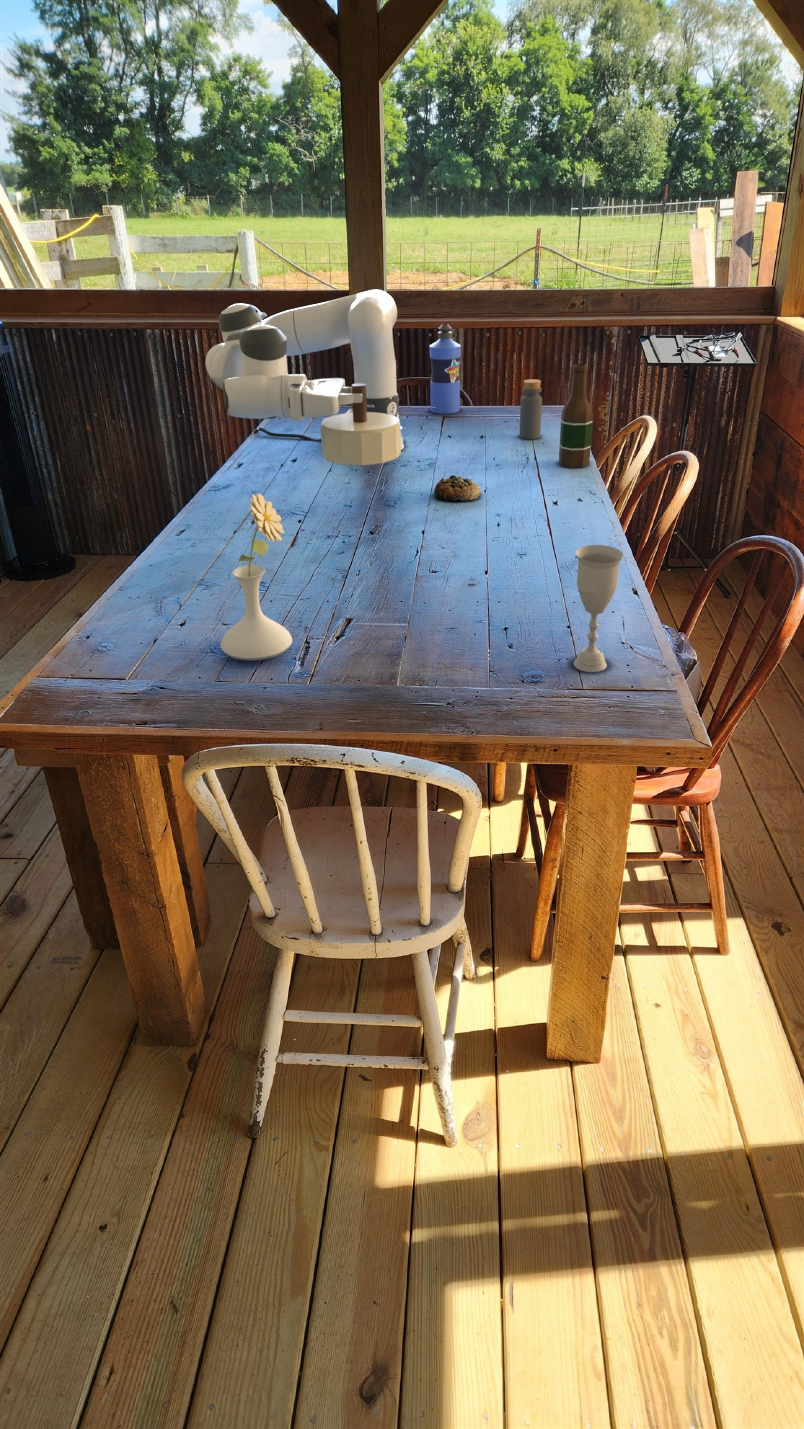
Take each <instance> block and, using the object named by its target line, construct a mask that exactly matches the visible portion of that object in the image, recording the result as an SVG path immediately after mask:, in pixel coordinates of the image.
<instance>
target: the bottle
mask: <svg viewBox="0 0 804 1429" xmlns="http://www.w3.org/2000/svg"><path fill="white" fill-rule="evenodd" d="M541 383H542V381H541V380H540V379H531V378H530V379H524V380H523V387H522V388H521V391H522V392H523V395H522V396H521V397H520V405H519V406H520V407H519V408H520V409H519V435H518V436H519V438H520V439H523V440H537V439H540V438H541V432H542V414H543V413H542V411H543V397H542V396H541V395H540V393H541V392H542V387H541Z"/></svg>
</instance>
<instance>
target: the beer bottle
mask: <svg viewBox="0 0 804 1429" xmlns="http://www.w3.org/2000/svg"><path fill="white" fill-rule="evenodd" d="M572 370H573V371H572V372H573V373H572V381H571V388H570V395H569V399H568V400H567V401H566V403H565V404H564V406H563V409H562V411H561V417H560V434H559V446H558V447H559V448H558V449H559V450H558V462H559V464H560V466H561V467H564V468H569V469H579V468H581V469H582V468H585V467H588V466H589V463H590V458H591V447H592V435H593V432H592V431H593V422H594V421H593V417H594V414H593V409H592V407H591V404H590V402H589V401H588V397H587V396H588V395H587V386H588V385H587V382H588V381H587V377H588V376H587V375H588V374H587V373H588V370H589V366H588V365H587V364H585V363H577V364H573V366H572Z"/></svg>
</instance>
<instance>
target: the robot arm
mask: <svg viewBox="0 0 804 1429" xmlns="http://www.w3.org/2000/svg"><path fill="white" fill-rule="evenodd" d="M266 317H267V318H266ZM264 318H265V319H264ZM397 318H398V307H397V305H396V301H395V300H394V298H393V297H392V296H391V295H390V294H389V293H387V292H386V291H384V290H382V289H369V290H366V291H363V292H358V293H354V294H350V295H347V296H343V297H339V298H336V299H332V300H328V301H325V302H320V303H316V304H310V305H306V306H301V307H296V308H292V309H288V310H285V311H282V312H279V313H276V314H274V315H271V316H269V317H268V315H267V313H265V312H263V311H261V310H260V309H258V307H256V306H254V305H253V304H249V303H234V304H231V305H230V306H228V307H227V308H225V309H224V310H222V311H221V313H220V314H219V316H218V327H219V331H220V332H221V336H222V340H223V342H221V343H217V344H214V345H213V346H212V347H211V348H210V349H209V350H208V352H207V353H206V356H205V363H204V365H205V370H206V372H207V375H208V377H209V378H210V379H211V381H212V382H213V383H214V384H215V385H216V386H217V387H219V389H221V390H222V391H223V392H222V394H223V403H224V410H225V412H226V415H227V416H230V417H233V418H241V419H256V420H273V419H274V420H275V419H278V418H281V419H291V420H292V421H294V422H301V421H303V420H304V419H311V418H323V417H330V416H334V415H338V414H339V411H340V408H341V406H347V405H350V409H348V410H347V411H346V412H345V413H353V405H352V403H361V402H362V401H363V394H362V393H352V386H346V380H345V378H343V377H342V378H341V377H330V378H328V377H327V378H315V379H312V380H308V378H307V375H306V374H305V373H301V374H299V373H298V374H297V373H296V374H293V373H292V374H289V372H288V370H289V369H288V360H287V357H293V356H301V355H306V354H310V353H315V352H320V351H325V350H331V349H335V348H338V347H341V346H344V345H347V344H350V350H351V357H352V363H353V379H354V380H353V381H354V383H353V384H357V383H363V384H366V402H367V412H376V413H384V414H389V415H393V416H395V417H397V418H398V419H399V423H400V424H401V422H400V415H399V407H400V398H399V393H398V392H397V391H398V390H397V362H396V361H397V360H396V355H395V346H394V336H393V327H394V325H395V324H396V322H397ZM258 428H259V430H257V428H255V430H254V431H253V434H258V433H259V432H263V433H265V434H266V435H268V436H271V437H276V438H277V437H279V438H298V439H302V440H306V441H313V442H320V443H322V442H321V438H319V439H316V438H312V437H310V436H306V435H304V434H298V433H297V434H296V433H279V432H272V431H269V430H267V429H265V428H263V427H258ZM402 429H403V426H401V425H400V433H401V451H402V450H403V449H405V444H404V437H403V436H402Z"/></svg>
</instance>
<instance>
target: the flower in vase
mask: <svg viewBox="0 0 804 1429" xmlns="http://www.w3.org/2000/svg"><path fill="white" fill-rule="evenodd" d="M249 507H250V513H251V515H252V517H253V521H254V523H255V524H257V525H256V527H255V530H254V532H253V534H252V539H251V546H250V552H249V556H248V555H245V554H241V555H240V557H239V559H238V560H237V562H248V565H242V566H239V567H236V568H234V569H233V570H232V573H231V574H232V575H233V576H234V578H236V579H237V581H238V583H239V584H240V587H241V590H242V594H243V599H244V606H245V608H244V609H245V610H244V615H243V616H242V618H241V619H239V621H238V622H237V623H235V624H234V625H233V626H232V627H230V628H229V629H228V630H227V631H226V633H225V634H223V636H222V637H221V642H220V648H221V650H222V652H223V653H224V654H225V655H226V656H228V657H230V658H232V659H236V660H240V661H249V662H250V661H251V662H253V661H262V660H269V659H272V658H276V657H277V656H280V655H282V654H284V653H285V652H286V651H288V649H289V648H290V646H291V645H292V643H293V637H292V635H291V633H290V631H289V630H288V629H287V628H286V627H284V626H283V625H282V624H280V623H278V622H277V621H274V620H273V619H271V618H269V617H267V616H266V615H264V613H263V611H262V609H261V604H260V583H261V581H262V577H263V575H264V574H265V572H266V569H265V567H263V566H261V565H255V564H253V565H252V561H253V560H254V559H256V556H253V553H254V552H255V553H257V554H258V555H259V556H261V557H262V556H265V555H266V553H267V552H268V550H269V545H268V544H267V542H266V541H265V540H262V539H259V538H257V539H256V536H257V533H258V531H259V532H260V533H261V534H262V535H263V536H264V537H265V538H266V539H267V541H269V542H271V541H272V542H273V543H276V542H280V541H283V540H282V537H281V534H282V535H284V534H285V530H284V529H283V525H282V523H281V520H282V517H281V516H280V515H279V514H277V511H276V509H275V508H273V503H272V502H271V501H270V500H267V501H266V500H265V497H264V496H263V495H262V494H260V493H257V494H256V495H255V494H254V493H253V494H252V495H251V497H250V504H249Z"/></svg>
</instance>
